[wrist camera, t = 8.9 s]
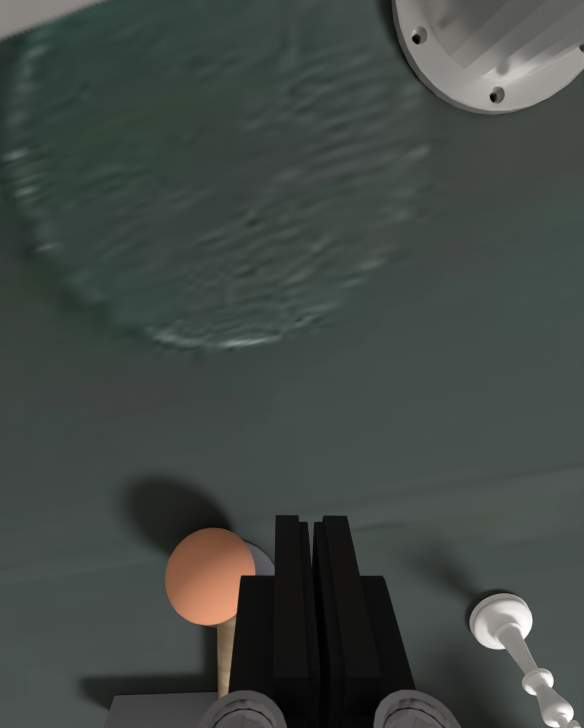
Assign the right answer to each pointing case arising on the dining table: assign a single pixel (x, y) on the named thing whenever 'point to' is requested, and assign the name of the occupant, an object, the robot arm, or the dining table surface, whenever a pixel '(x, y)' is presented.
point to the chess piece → (519, 651)
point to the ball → (208, 575)
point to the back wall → (159, 710)
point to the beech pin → (225, 653)
